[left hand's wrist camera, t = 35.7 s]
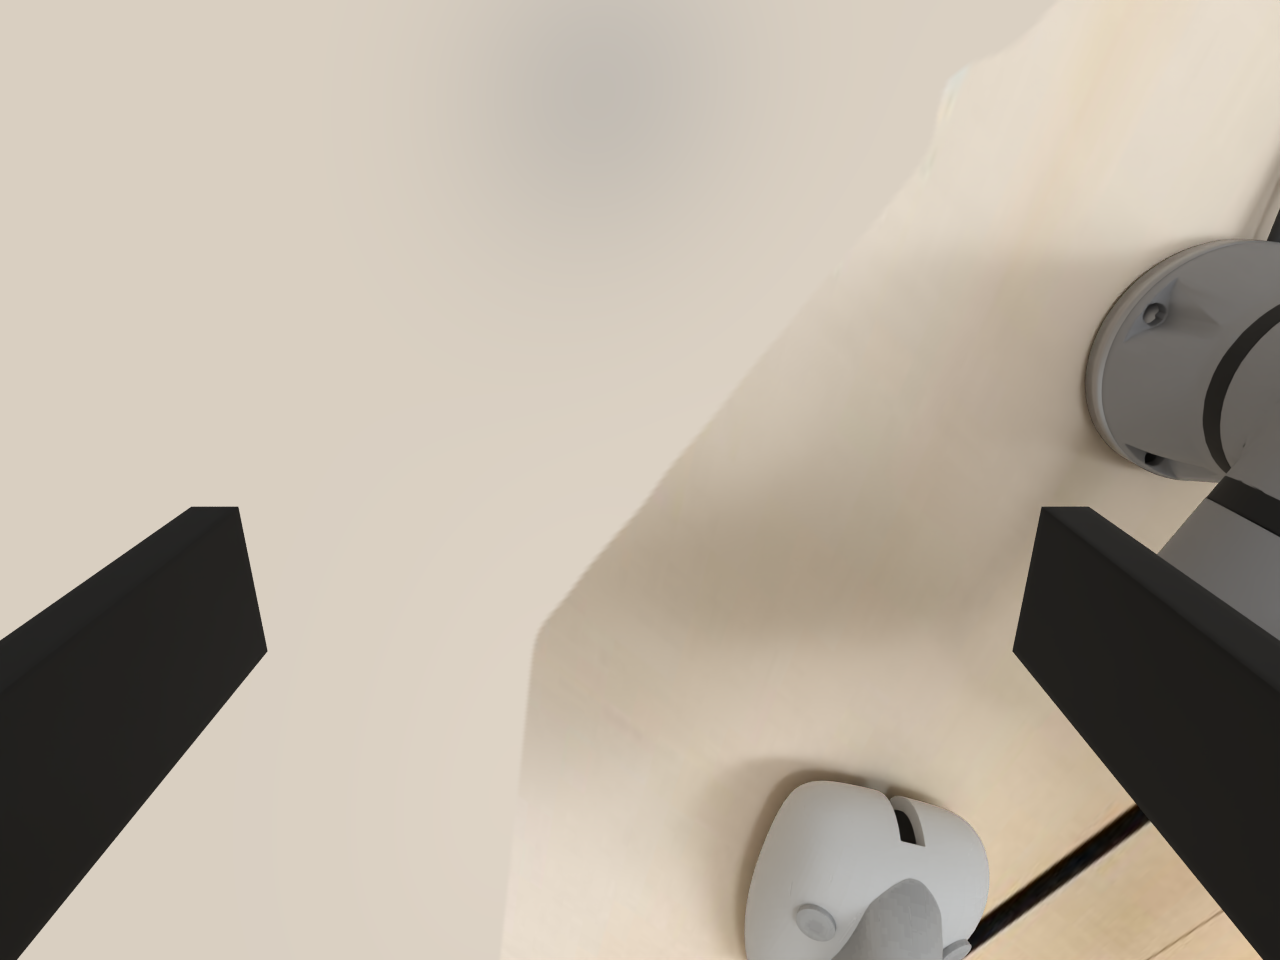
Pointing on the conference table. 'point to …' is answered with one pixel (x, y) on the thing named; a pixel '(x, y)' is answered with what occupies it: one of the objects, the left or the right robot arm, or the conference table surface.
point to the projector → (865, 879)
